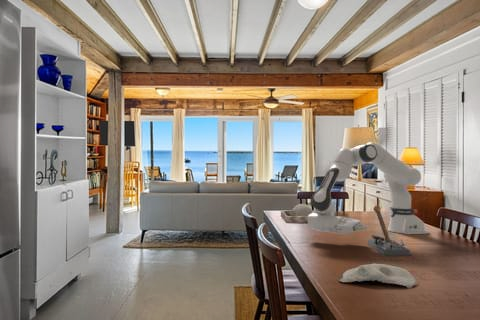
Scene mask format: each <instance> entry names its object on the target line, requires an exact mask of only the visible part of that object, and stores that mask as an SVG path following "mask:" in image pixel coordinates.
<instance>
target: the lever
mask: <svg viewBox="0 0 480 320" xmlns="http://www.w3.org/2000/svg"><path fill="white" fill-rule="evenodd" d="M373 211H374V212H375V214H376V216H377V219H378V223H379V225H380V228H381V230H382V234H383V238H384V239H386V242H388V243H390V246H391V245H392V242H391V241H390V238H389V236H390V234H389V232H388V228H387V227H386V224H385V221H384V218H383V216H382V215H383V214H382V212H381V206H380V205H374V206H373Z"/></svg>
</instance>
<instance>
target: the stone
mask: <svg viewBox="0 0 480 320" xmlns="http://www.w3.org/2000/svg"><path fill="white" fill-rule="evenodd" d="M356 281H357V282H363V281H372V282H374V281H377V282H381V283H384V284H385V283H386V284H392V285H394V284H395V285H399V286H404V287H406V288H407V289H411V288H413V287H414V286H415V287H416V286H418V282H417V280H416V278H415V276H413V274H411V273H410V271H408V270H406V269H405V268H402V267H399V266H393V265H389V264H385V263H371V264H364V265H363V264H362V265H359V266H357V267H355V268H350V269H347V270H346V271H345V272H343V273H342V278H340V280H339V282H341V283H352V282H353V283H354V282H356Z"/></svg>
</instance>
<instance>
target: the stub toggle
mask: <svg viewBox="0 0 480 320" xmlns="http://www.w3.org/2000/svg"><path fill="white" fill-rule="evenodd" d="M400 244H401V245H402V248H403V249H404V248H405V247H406V244H405V242H404V240H403V239H400ZM406 248H407V247H406Z"/></svg>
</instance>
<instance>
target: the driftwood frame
mask: <svg viewBox="0 0 480 320" xmlns="http://www.w3.org/2000/svg"><path fill="white" fill-rule="evenodd" d="M291 213H292V210H280V217H281V219H282V220H283V221H284V222H285V223H295V224H296V223H298V224H299V223H300V224H301V223H303V224H304V223H306V224H308V223H307V217H308V216H292V214H291Z"/></svg>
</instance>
